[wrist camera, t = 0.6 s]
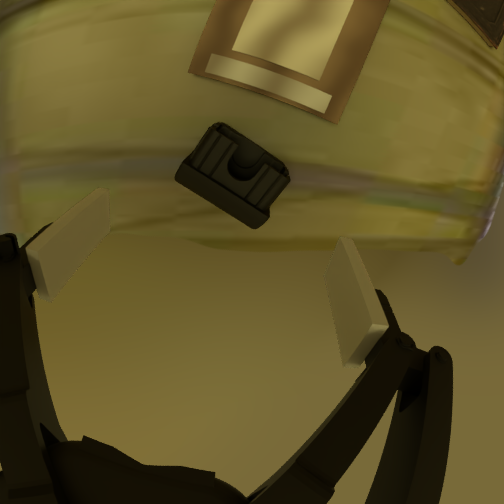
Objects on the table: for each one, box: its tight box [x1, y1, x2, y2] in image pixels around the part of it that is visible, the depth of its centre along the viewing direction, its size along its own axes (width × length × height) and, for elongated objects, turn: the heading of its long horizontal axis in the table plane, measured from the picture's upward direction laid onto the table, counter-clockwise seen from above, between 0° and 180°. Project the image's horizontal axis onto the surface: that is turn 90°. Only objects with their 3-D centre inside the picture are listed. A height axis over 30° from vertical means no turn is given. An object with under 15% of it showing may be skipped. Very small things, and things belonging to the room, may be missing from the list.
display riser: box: [188, 0, 390, 124], centre depth 21 cm, size 16×18×4 cm
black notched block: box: [175, 122, 290, 229], centre depth 29 cm, size 10×7×7 cm
